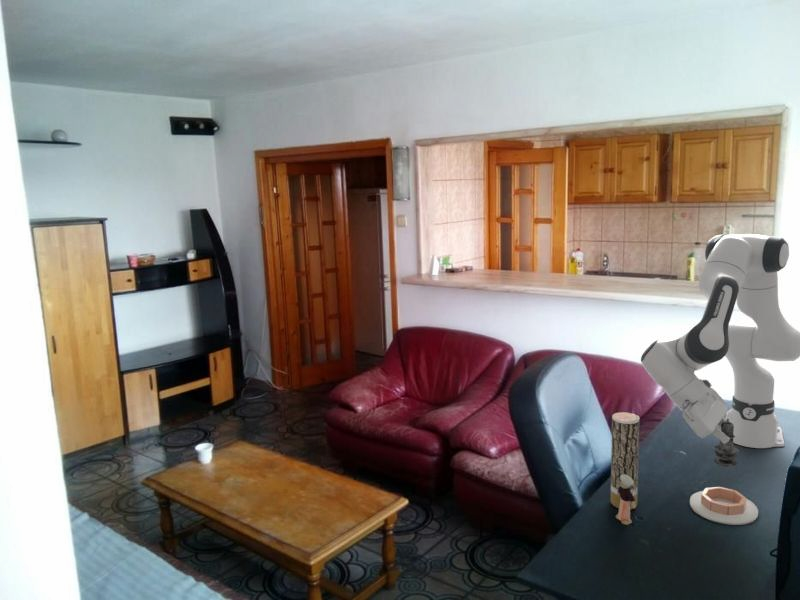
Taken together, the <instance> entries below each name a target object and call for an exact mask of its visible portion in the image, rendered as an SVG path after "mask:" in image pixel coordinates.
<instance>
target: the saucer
mask: <svg viewBox="0 0 800 600" xmlns="http://www.w3.org/2000/svg"><path fill="white" fill-rule="evenodd" d="M689 506H690V508H691V509H692V511H693V512H695V514H697V516H698V515H699V516H700V517H702V518H705V519H707V520H709V521H711V522H715V523H719V524H722V525H723V524H724V525H732V526H742V525H748V524H752V523H754V522H755V521H756V520H757V519H758V517H759V509H758V507H757V505H755V503H754V502H752V500H750V499H748V498H747V497H746V496H744V495H743V494H742V493H740V492H739V491H738V490H736V489H731V488H727V487H722V486H712V487H710V486H709V487H705V488H704V489H703V490H701V491H700V490H699V491H697V492H695V493H693V494H691V496H690V499H689ZM756 518H757V519H756ZM754 520H755V521H754Z"/></svg>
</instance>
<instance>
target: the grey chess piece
mask: <svg viewBox="0 0 800 600" xmlns="http://www.w3.org/2000/svg"><path fill="white" fill-rule="evenodd" d="M720 430H721V431H722V432H723V433H724V434H725V433H726V434H727V435H728V436H729V437H730V440H729V442H727V443H725V444H724V443H722V441H721V440H720V439H719V444H716V445H714V446H713V451H714V454H715V456H716V457H715V458H714V459H713V461H714V463H715V464H716V465H719V466H721V467H727V468H730V467H731V468H733V467H736V466H737V465H738V463H737V461H736V458H737V456H738V455H739V452H740V450H739V449H738V448H737V447H735V446H734V443H733V438H735V436H734V435H733V431H734V425H733V424H732V423H731V422H729V419H727V421H726V422H723V423H722V424H721V426H720Z"/></svg>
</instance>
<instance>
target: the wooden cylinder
mask: <svg viewBox="0 0 800 600" xmlns="http://www.w3.org/2000/svg"><path fill="white" fill-rule="evenodd" d="M639 448H640V416H639V415H637V414H635V413H631V412H625V411H624V412H623V411H622V412H615V413H613V414H612V415H611V448H610V449H611V455H610V456H611V457H610V503H611V504H612V506H613V507H615V508H616V509H619V506H620V496H617V493H618V489H619V487H620V481H621V480H620V476H621V475H622V474H625V475H628V476H630V477H631V479H632V480H633V482H634V484H633V485H631V486H630V487H629V489H630V491H631V493H632V495H633V497H634V499H635V506H636V507H637V506H638V489H639V487H638V485H639V484H638V483H639V481H638V480H639V455H640V454H639V453H640V452H639ZM630 510H633V508H632V505H631V502H630Z"/></svg>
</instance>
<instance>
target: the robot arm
mask: <svg viewBox="0 0 800 600" xmlns="http://www.w3.org/2000/svg"><path fill="white" fill-rule="evenodd" d="M789 248H790V246H789V243H788V242H787V241H786V240H785V239H784V238H783V237H780V236H776V235H770V236H769V235H762V234H755V233H754V234H753V233H746V234H744V233H743V234H725V233H724V234H718V235H714V236H713V237H711V238H710V239H709V240H708V241H707V244H706V246H705V251H704V256H705V257H704V258H705V263H704V265H703V267H702V270H701V272H700V276H699V280H698V288H699V291H700V293H702V294H703V295H704V296H705V297H706V298H708V300H707V303H706V306H705V309H704V312H703V315H702V318H701V320H700V321H699V322H698V323H697V324H696V325H694V326H693V327H692V328H691V329H690V330H689V331H688V332H687V333H685V334H684V335H683V336H680V337H678V338H673V339H668V340H659V339H657V340H655V341H654V342H652V343H651V344H650V345H649V346H648V347H647V348H646V349H645V351H644V352H643V353H642V355H641V356H640V362H641V365H642V366H643V368H644V369H645V371H646V372H647V373H648V375H649V376H650V377H651V379H653V380H654V382H655V383H656V384H657V385H658V386H660V387H661V388H662V389H663V390H664V391H665V393H666V395H667V396H668V398H670V400H671V401H672V402H673V403H674V405H676V406H677V408H678V409H679V410H680V411H682V416H683V419H684V420H685V422H686V423H687V425H689V427H690V428H691V429H692V430H693V432H694V434H696V436H697V437H699V438H701V439H705V438H707V437H708V436H710V435H712V436H713V437H715V438H717V439H718V440H719V441H720V440H721V441H722V443H724V444H725V443H727V442H729V440H730V437H729V436H728V435H727V434H726V433H725V434H724V433H723V432H722V431H721V424H722V423H723V422H726V421H727V419H729V422H731V423H732V424H733V425H734V431H733V435H734V436H735V438H733V444H735V445H738V446H741V447H747V448H752V449H754V448H755V449H769V448H770V449H771V448H773V447H774V448H775V447H776V448H777V447H778V448H780V447H781V448H782V447H784V446H785V441H784V436H783V430H782V428H781V427H780V426H778V425H779V420H778V419H777V416H776V413H775V406H776V405H775V400H774V393H775V392H774V391H775V378H774V376H773V375H772V373H771V372H770V371H769V370H767V369H766V368H764V367H763V366H761V365H760V364H759V363H758V361H757V359H759V360H767V361H772V362H773V361H774V362H794V361H795V360H798V359H799V358H800V331H799V330H797V329H796V328H794V327H793V326H792V325H791V324H790V323H789V322H788V321H787V320H786V318H785V317H784V316H783V314H782V312H781V309H780V304H779V295H778V294H779V292H778V291H779V287H778V286H779V283H778V281H779V279H778V272H780V271H781V270H783V269H784V268H785V267H786V265H787V262H788V260H789V257H790V249H789ZM735 305H736V306H737V308H738V309H739V310H740V312H741V313H742V314H743V315H745V316H747V317H748V318H750V319H752V321H754V322H748V321H740V320H739V321H738V320H737V321H736V320H735V321H732V320H731V318H732V315H733V312H734V310H735V309H734V308H735ZM724 357H725V358H726V359H727V360H728V363H729V364H730V367H731V368H732V372H733V378H734V379H733V381H734V382H733V383H734V385H733V386H734V389H733V390H734V391H733V396H732V399H731V407H732V408H730V409H729V407H728V404H727V402H725V401H724V399H723V398H722V397H721V396H720V395H719V393H718V392H717V391H716V390H715V389H714V388H713V387H712V383H711V382H710V381H709V380H708V379H701V378H698V376H697V375H696V374H695V372H696V371H700V370H702V369H703V368H706V367H707V366H709V365H710V364H714V363H716V362H719V361H721V360H722V359H724ZM719 426H720V427H719Z"/></svg>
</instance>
